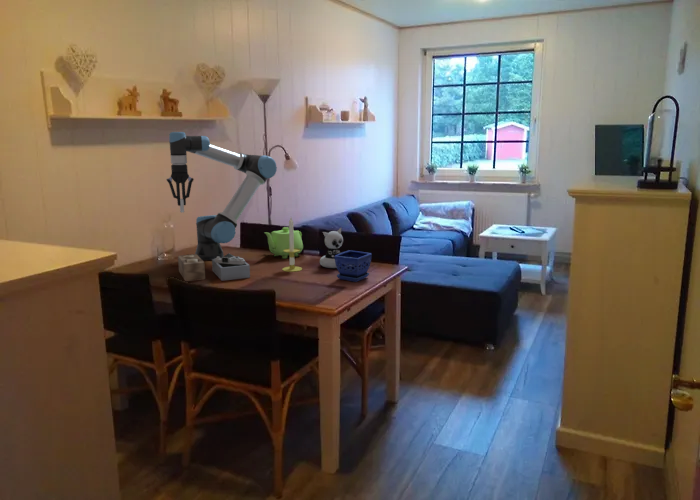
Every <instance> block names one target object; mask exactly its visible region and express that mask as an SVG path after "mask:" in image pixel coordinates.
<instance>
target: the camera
mask: <svg viewBox="0 0 700 500" xmlns="http://www.w3.org/2000/svg"><path fill="white" fill-rule="evenodd" d="M236 257H237V256H235V255H233V254H231V253H230V252H229V253H226V255H224V257H222V258H220V257H217V258H215V262H216V263H219V264H220V265H221V266H222V267H232V266H242V265H245V262H246V260H245V259H244V257H240V258H239V259H238V258H236Z"/></svg>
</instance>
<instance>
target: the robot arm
mask: <svg viewBox="0 0 700 500" xmlns="http://www.w3.org/2000/svg"><path fill="white" fill-rule="evenodd" d="M210 141H211V140H210V139H209V137H208V136H206V135H187V134H186V133H185V132H184V131H171V132H170V133H169V141H168V142H169V151H170V163H171V166H170V168H171V175H170V176H169V178H166V182H167V183H168V184H169V188H170V191H171V194H172V197H173V198H174V199H176V200H177V201H176V202H177V206H179V211H180V213H185V206H186V205H187V199H188V198H190V194H191V191H192V190H191V189H192V184H193V182H194V180H195V179H194V178H193V177H191V176H190V175H189V172H188V170H189V169H188V157H187V152H189V153H191V154H195V155H197V156H201V157H203V158H207V159H209V160H212V161H215V162H218V163H222V164H224V165H227V166H230V167H233V168H234V170H235V171H236V170H237V171H240V172H242V173H244V174H246V177H245V178H244V179H243V181H242V182H241V184H240V185H239V187H238V189H237V190H236V191H235V193H234V194H233V196H232V197H231V198H230V200H229V202H228V203H227V205H226V206H225V208H224V209H223V210H222V212H218V213H217V214H214V215H213V214H212V215H202V216H197V217H196V219H195V220H196V221H195V222H196V223H195V224H196V235H197V236H196V240H197V246H196V249H195V253H194V254H197V255H198V256H199V257H200V258H201V259H202V260H203V261H212V259H215V258H217V257H220V258H222V257H224V256H225V255H224V250H223V249H222V246H221V244H227V243H229V242H231V241H233V239H234V238H235V236H236V228H237V226H238V222H237V221H238V219H239V218H240V217H241V215H242V214H243V212H244V210H245V209H246V207H247V206H248V204H249V203H250V202H251V200H252V199H253V197H254V195H255V193H256V192H257V190H258V189H259V187H260V186H261V185H265V184H266V182H267V180H268V179H271V178H273V177H274V176H275V175H276V172H277V169H278V167H277V163H276V160H275V159H274V158H273V157H271V156H268V155H267V154H266V155H257V154H247V153H242V152H238V153H237V152H235V151H231V150H229V149H225V148H223V147H220V146H217V145H214V144H212V143H210ZM187 181H188V183H187V188H186V182H187ZM172 182H174V183H175V187H176V191H175V189H174V186H173V185H174V184H173V183H172ZM180 185H181V190H180ZM181 194H182V195H181ZM181 196H182V198H181Z"/></svg>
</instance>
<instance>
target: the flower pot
mask: <svg viewBox="0 0 700 500" xmlns="http://www.w3.org/2000/svg"><path fill="white" fill-rule="evenodd" d="M372 256H373V255H372V252H366V251H365V252H364V251H358V250H352V249H351V250H349V249H348V250H346V251H342V252H340V254H338V255H335V257H334V258H335V264H336V267H337V268H336V269H337V271H338V274H337V275H336V277H337V279H339V280H344V281H349V282H354V283H357V282H359V281H362V280H364V279H366V278H367V277H368V276H369V275H370V273H369V272H368V271H369V269H370V267H371V263H372Z"/></svg>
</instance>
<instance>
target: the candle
mask: <svg viewBox="0 0 700 500" xmlns="http://www.w3.org/2000/svg"><path fill="white" fill-rule="evenodd" d="M288 228H289V243H290V249H284V250H283V251H284V252H286V253H289V255H288V256H289V257H288V258H289V266H285V267H283V268H282V269H281V270H282V271H283V272H289V273H295V272H300V271H302V270H303V268H302V266H301V267H300V266H296V265H295V263H296V262H295V259H296V258H295V256H294V253H296V252H300V249H294V231H293V230H294V220H293V218H292V217H290V220H289V221H288ZM300 253H301V252H300Z"/></svg>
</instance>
